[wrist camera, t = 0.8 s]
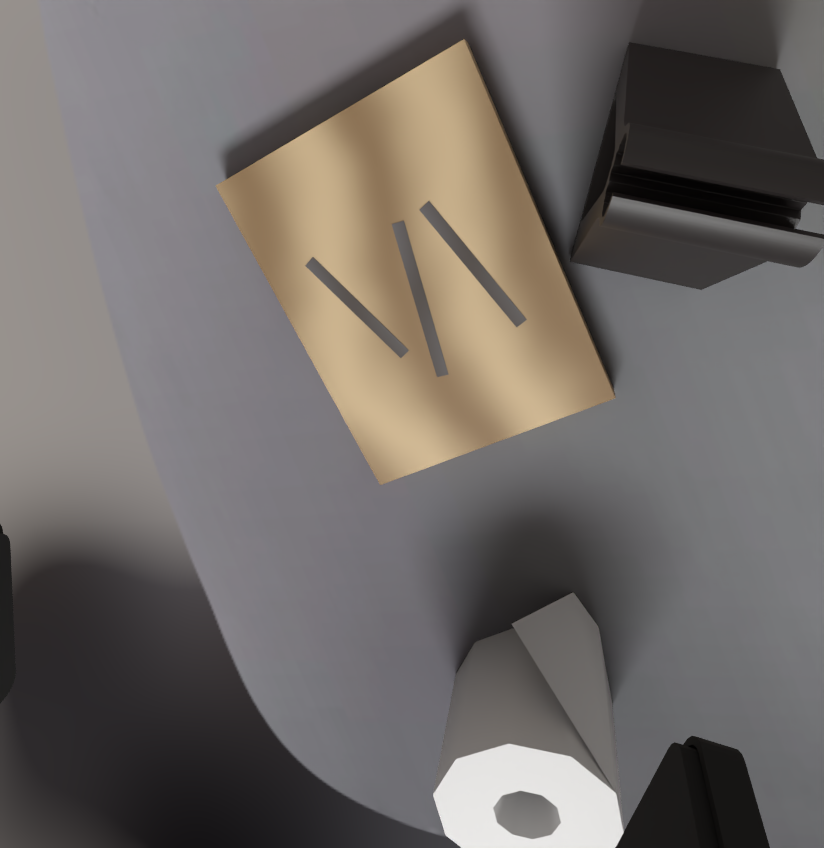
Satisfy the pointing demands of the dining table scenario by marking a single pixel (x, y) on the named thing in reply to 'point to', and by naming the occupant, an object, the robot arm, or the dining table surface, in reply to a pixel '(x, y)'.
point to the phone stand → (699, 172)
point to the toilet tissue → (532, 739)
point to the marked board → (420, 271)
